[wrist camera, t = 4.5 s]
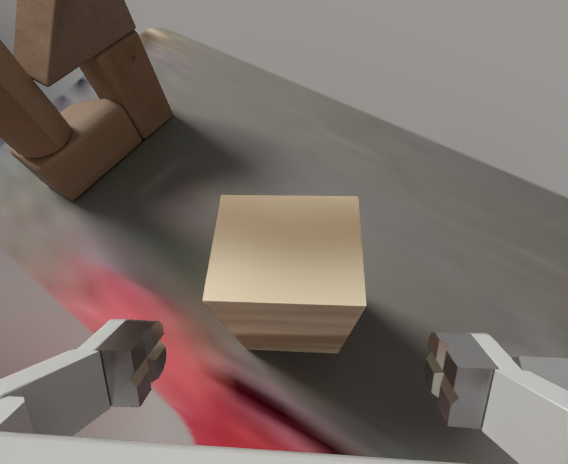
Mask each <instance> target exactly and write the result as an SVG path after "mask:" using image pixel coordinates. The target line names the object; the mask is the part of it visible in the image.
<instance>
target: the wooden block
mask: <svg viewBox="0 0 568 464" xmlns="http://www.w3.org/2000/svg"><path fill="white" fill-rule="evenodd" d="M135 28H136V27H135V24H134V22H133V20H132V17H131V15H130V13H129V10H128V8H127V6H126V3H125V1H124V0H17V11H16V25H15V42H14V56H13V55H12V54H11V52H10V51H9V50H8V49H7V47H6V46H5V45H4V44H3V43H2V41H1V40H0V138H2V139H3V140H4V141H5V142H6V143H7V144H8V145H9V146H10V147H11V150H10V151H11V154H12V155H13V156H14V157H15V158H16V159H18V160H19V161H20V162H21V163H22V164H23V165H24V166H25V167H27V168H28V169H29V170H30V171H31V172H32V173H33V174H35V175H36V176H37V177H38V178H39V179H40V180H41V181H42V182H44V183H45V184H47V185H48V186H49V187H51V188H52V189H54V190H55V191H56V192H58V193H59V194H61V195H62V196H64V197H65V198H66V199H68V200H71V201H73V200H75V199H76V198H78V197H79V196H80V195H81V194H82V193H83V192H85V191H86V190H87V189H88V188H89V187H90V186H91V185H93V184H94V183H95V182H96V181H97V180H98V179H100V178H101V177H102V176H103V175H104V174H105V173H106V172H108V171H109V170H110V169H111V168H112V167H113V166H115V165H116V164H117V163H118V162H119V161H120V160H121V159H123V158H124V157H125V156H126V155H127V154H128V153H130V152H131V151H132V150H133V149H134V148H135V147H136V146H138V145H139V144H140V143H141V141H142V139H146V138H148V137H149V136H150V135H151V134H152V133H153V132H155V131H156V130H157V129H158V128H159V127H160V126H161V125H163V124H164V123H165V122H166V121H167V120H168V119H170V118H171V117H172V111H171V109H170V106H169V104H168V102H167V99H166V97H165V95H164V92H163V90H162V88H161V86H160V83H159V81H158V79H157V76H156V74H155V72H154V70H153V67H152V65H151V63H150V60H149V58H148V56H147V53H146V51H145V49H144V47H143V44H142V42H141V40H140V37H139V35H138V34H137V32H136V31H135V30H134V29H135ZM78 67H80V69H81V70H82V72H83V73H84V75H85V77H86V78H87V80H88V81H89V83H90V84H91V86H92V87H93V89H94V90H95V92H96V94H97V95H98V97H99V98H100V99H99V100H93V101H87V102H81V103H75V104H73V105H70V106H69V107H68V108H66V109H65V110H64V111H62V112H61V113H59V111H58V110H57V109H56V108H55V106H54V105H53V104H52V103H51V102H50V100H49V99H48V98H47V97H46V95H45V94H44V93H43V92H42V90H41V89H40V88H39V87H38V86H37V84H36V83H35V82H34V81H33V80H35V81H37V82H39V83H41V84H42V85H44V86H46V87H49V86H51V85H52V84H54V83H55V82H57V81H58V80H60V79H61V78H63V77H64V76H66V75H67V74H69V73H70V72H72V71H73V70H74V69H76V68H78ZM141 138H142V139H141Z"/></svg>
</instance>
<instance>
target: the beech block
mask: <svg viewBox="0 0 568 464" xmlns="http://www.w3.org/2000/svg"><path fill="white" fill-rule="evenodd" d="M202 301H203V302H204V303H205V304H206V305H207V306H208V307H209V309H210V310H211V311H212V312H213V313H214V314H215V315H216V316H217V317H218V318H219V319H220V321H221V322H222V323H223V324H224V325H225V326H226V327H227V328H228V329H229V330H230V332H231V333H232V334H233V335H234V336H235V337H236V338H237V339H238V340H239V341H240V342H241V344H242V345H243V346H244V347H245V348H246V349H249V350H272V351H294V352H317V353H338V352H339V351H340V349H341V347H342V346H343V344H344V343H345V341H346V339H347V338H348V336H349V334H350V333H351V331H352V329H353V328H354V326H355V324H356V323H357V321H358V319H359V318H360V316H361V315H362V313H363V311H364V310H365V308H366V293H365V280H364V267H363V254H362V241H361V228H360V214H359V201H358V196H270V195H221V198H220V204H219V210H218V215H217V221H216V226H215V232H214V238H213V243H212V249H211V255H210V260H209V266H208V272H207V277H206V283H205V288H204V294H203V300H202Z"/></svg>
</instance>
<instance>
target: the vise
mask: <svg viewBox="0 0 568 464" xmlns="http://www.w3.org/2000/svg"><path fill="white" fill-rule="evenodd" d="M511 359H512V360H513V361H514V362H515V363H516V364H517V365H518V366H519V367H520V368H521V369H522V371H530V372H532V373H534V374H536V375H538V376H540V377H541V378H543V379H545V380H547V381H549V382H551V383H553V384H555V385H557V386H559V387H561V388H563V389H565V390H567V391H568V358H546V357H523V356H518V357H514V358H511Z"/></svg>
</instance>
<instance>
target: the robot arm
mask: <svg viewBox="0 0 568 464" xmlns="http://www.w3.org/2000/svg"><path fill="white" fill-rule="evenodd" d="M163 334H164V332H163V326H162V324H161V323H160V322H159V321H146V320H128V319H111V320H109V321H108V322H107V323H106V324H105V325H104V326H102V327H101V328H100V329H99V330H98V331H97V332H96V333H95V334H93V335H92V336H91V337H90V338H89V339H88V340H87V341H86V342H85V343H83V344H82V345H81V346H80V347H79V348H78V349H77V350H69V351H67V352H64V353H62V354H60V355H57V356H55V357H52V358H50V359H48V360H45V361H43V362H41V363H38V364H36V365H33V366H31V367H28V368H26V369H24V370H21V371H19V372H17V373H14V374H12V375H9V376H7V377H4V378H2V379H0V464H465V463H450V462H436V461H421V460H407V459H393V458H378V457H364V456H350V455H335V454H321V453H306V452H291V451H276V450H261V449H247V448H232V447H218V446H203V445H189V444H174V443H160V442H146V441H131V440H116V439H103V438H88V437H73V435H75V434H76V433H77V432H79V431H80V430H81V429H83V428H84V427H85V426H87V425H88V424H89V423H91V422H92V421H93V420H95V419H96V418H98V417H99V416H100V415H102V414H103V413H104V412H106V411H107V410H108V409H109V408H110V406H112V407H114V406H115V407H140V406H141V405H142V403H143V401H144V400H145V398H146V397H147V395H148V394H149V392H150V391H151V382H153V381H155V380H156V379H158V378H159V376H160V375H161V373H162V371H163V369H164V365H165V362H166V347H165V345H164V344H163V343H162V342H161V340H160V339H161V337H162V336H163ZM428 346H429V348H430V349H431V351H432V353H431V354H430V355H429V356H428V357H427V358H426V364H425V373H426V380H427V383H428V386H429V389H430V391H431V393H433V394H434V395H435V396H437V397H438V405H437V406H438V408H439V410H440V412H441V414H442V416H443V418H444V420H445V422H446V424H447V426H453V427H464V428H475V429H482V431H483V432H484V433H485V434H486V435H487V436H488V437H490V438H491V439H492V440H493V441H494V442H495V443H496V444H497V445H499V446H500V447H501V448H502V449H503V450H504V451H505V452H506V453H508V454H509V455H510V456H511V457H512V458H513V459H514V460H516V461H517V462H518V463H519V464H568V391H567V390H565V389H563V388H561V387H559V386H557V385H555V384H553V383H551V382H549V381H547V380H545V379H543V378H541V377H540V376H538V375H536V374H534V373H532V372H530V371H522V369H521V368H520V367H519V366H518V365H517V364H516V363H515V362H514V361H513V360H512V359H511V358H510V356H509V355H508V354H507V353H506V352H505V351H504V350H503V349H502V348H501V347H500V346H499V345H498V343H497V342H496V341H495V340H494V339H493V338H492V337H491V336H490V335H488V334H486V333H431V334H430V337H429V341H428Z"/></svg>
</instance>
